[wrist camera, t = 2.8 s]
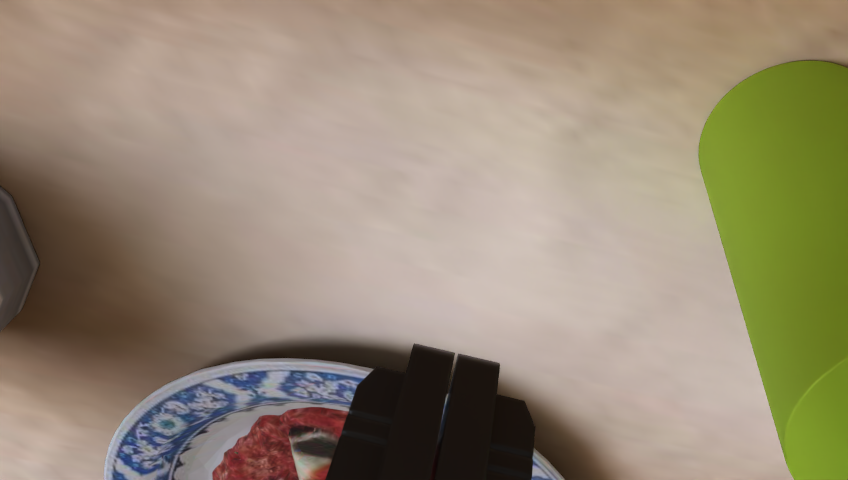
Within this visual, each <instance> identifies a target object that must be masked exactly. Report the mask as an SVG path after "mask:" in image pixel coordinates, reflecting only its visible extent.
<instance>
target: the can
mask: <svg viewBox="0 0 848 480" xmlns="http://www.w3.org/2000/svg"><path fill="white" fill-rule="evenodd" d="M39 264H40V262H39V260H38V258H37V255H36V253H35V250H34V248H33V246H32V243H31V241H30V238H29V236H28V234H27V231H26V229H25V226H24V224H23V222H22V219H21V217H20V215H19V212H18V210H17V207H16V205H15V203H14V200H13V198H12V196H11V195H10V194H8V193H7V192H6V191H5V190H4V189H3V188H2V187H1V186H0V332H1V331H2V330H3V329H4V328H5V326H6V325H7V324H8V323H9V322H10V321H11V320H12V319H13V318H14V317H15V316H16V315H17V314H18V313H19V312H20V311H21V310H22V308H23V305H24V303H25V300H26V298H27V295H28V292H29V290H30V287H31V285H32V282H33V279H34V277H35V274H36V272H37V269H38V267H39Z"/></svg>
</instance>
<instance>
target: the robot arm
mask: <svg viewBox="0 0 848 480" xmlns="http://www.w3.org/2000/svg"><path fill="white" fill-rule="evenodd" d="M454 355H455V353H453V352H449V351H444V350H440V349H436V348H431V347H427V346H423V345H419V344H414V345H413V348H412V352H411V355H410V359H409V363H408V367H407V370H406V373H403V372H398V371H394V370H390V369H386V368H381V367H376V368H375V369H374V370H373V371H372V372H370V373H369V374H368V375H367V376H366V377H365V378H364V379H363V380H362V381H361V382H360V383H359V384H358V385H357V388H356V391H355V394H354V397H353V400H352V402H351V405H350V408H349V412H348V415H347V417H346V420H345V423H344V426H343V429H342V433H341V436H340V438H339V441H338V444H337V447H336V450H335V452H334V455H333V458H332V461H331V464H330V467H329V470H328V473H327V476H326V479H325V480H531V478H532V470H533V453H534V436H535V426H534V423H533V421H532V419H531V416H530V414H529V411H528V409H527V407H526V404H525V402H524V401H523V400H518V399H514V398H510V397H506V396H501V395H497V386H498V378H499V369H500V363H497V362H492V361H488V360H484V359H480V358H475V357H471V356H467V355H462V354H458V357H457V360H456V364H455V368H454V372H453V376H452V381H451V385H450V389H449V393H448V397H447V401H446V396H447V391H448V386H449V381H450V375H451V370H452V365H453V360H454ZM445 401H446V405H445ZM444 406H445V409H444ZM443 411H444V413H443ZM442 416H443V417H442Z"/></svg>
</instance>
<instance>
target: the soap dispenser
mask: <svg viewBox="0 0 848 480" xmlns="http://www.w3.org/2000/svg"><path fill="white" fill-rule="evenodd" d="M699 163H700V169H701V172H702V176H703V179H704V183H705V186H706V189H707V193H708V196H709V200H710V203H711V207H712V210H713V213H714V217H715V220H716V224H717V227H718V231H719V234H720V238H721V241H722V244H723V248H724V251H725V255H726V258H727V262H728V265H729V268H730V272H731V275H732V279H733V282H734V286H735V289H736V292H737V296H738V299H739V303H740V306H741V310H742V313H743V316H744V320H745V323H746V327H747V330H748V334H749V337H750V340H751V344H752V347H753V351H754V354H755V358H756V361H757V364H758V368H759V371H760V375H761V378H762V382H763V385H764V389H765V392H766V395H767V399H768V402H769V406H770V409H771V413H772V416H773V419H774V423H775V426H776V430H777V433H778V437H779V440H780V443H781V447H782V450H783V454H784V457H785V460H786V463H787V466H788V469H789V471H790V473H791V475H792V477H793V478H794V480H848V68H846V67H844V66H841V65H838V64H834V63H829V62H823V61H796V62H789V63H784V64H780V65H776V66H773V67H770V68H767V69H765V70H762V71H760V72H758V73H756V74H754V75H752V76H750V77H749V78H747V79H745V80H744V81H742V82H741V83H739V84H738V85H737V86H735V87H734V88H733V89H732V90H730V91H729V92H728V93H727V94H726V95H725V96H724V97H723V98H722V99H721V100H720V102H719V103H718V104H717V105H716V107H715V108H714V109H713V111H712V112H711V114H710V116H709V118H708V119H707V121H706V123H705V126H704V128H703V131H702V134H701V138H700V143H699Z"/></svg>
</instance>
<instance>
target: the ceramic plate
mask: <svg viewBox="0 0 848 480" xmlns="http://www.w3.org/2000/svg"><path fill="white" fill-rule="evenodd" d="M373 370H374V369H371V368H366V367H361V366H356V365H351V364H346V363H339V362H331V361H323V360H315V359H295V358H274V359H255V360H246V361H237V362H232V363H227V364H223V365H218V366H214V367H209V368H205V369H200V370H198V371H195V372H193V373H190V374H188V375H186V376H183V377H181V378H178V379H176V380H174V381H171V382H169V383H167V384H166V385H164V386H162V387H161V388H159V389H157V390H156V391H154V392H152V393H151V394H150V395H149V396H147V397H146V398H145V399H144V400H142V401H141V402H140V403H139V404H138V405H137V406H136V407H135V408H134V409H133V410H132V411H131V412H130V413H129V414H128V415H127V416H126V417H125V419H124V420H123V421H122V423H121V424H120V426H119V427H118V429H117V430H116V432H115V434H114V436H113V439H112V441H111V443H110V445H109V448H108V452H107V456H106V460H105V469H104V480H325V479H326V476H327V473H328V470H329V467H330V464H331V461H332V458H333V455H334V452H335V450H336V447H337V444H338V441H339V438H340V436H341V433H342V429H343V426H344V423H345V420H346V417H347V415H348V412H349V408H350V405H351V402H352V400H353V397H354V394H355V391H356V388H357V385H358V384H359V383H360V382H361V381H362V380H363V379H364V378H365V377H366V376H367V375H368V374H369V373H370V372H372V371H373ZM447 397H448V394H447V396H446V401H447ZM446 401H445V405H446ZM444 409H445V406H444ZM443 413H444V411H443ZM442 417H443V416H442ZM531 480H565V479H564V478H563V476H562V475H561V474H560V473H559V472H558V471H557V470H556V469H555V468H554V467H553V466H552V465H551V463H550V462H549V461H548V460H547V459H546V458H545V457H544V456H542V455H541V454H540V453H539V452H538V451H537V450H536V449H535V448H534V453H533V470H532V478H531Z"/></svg>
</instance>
